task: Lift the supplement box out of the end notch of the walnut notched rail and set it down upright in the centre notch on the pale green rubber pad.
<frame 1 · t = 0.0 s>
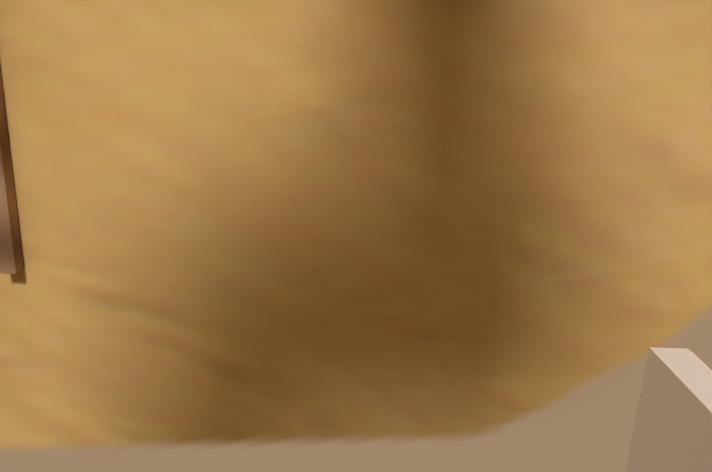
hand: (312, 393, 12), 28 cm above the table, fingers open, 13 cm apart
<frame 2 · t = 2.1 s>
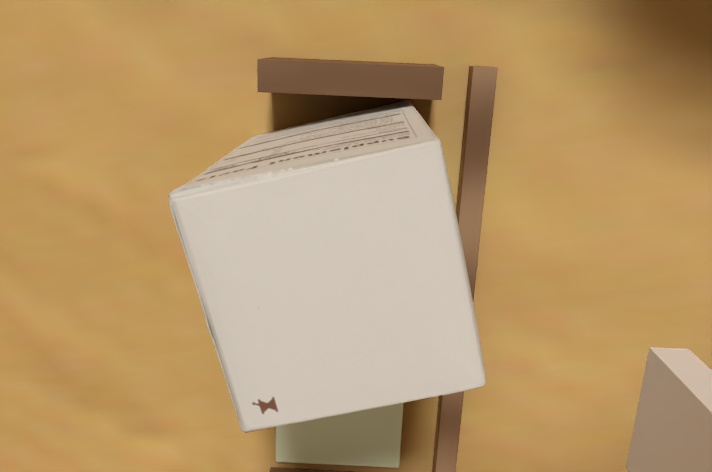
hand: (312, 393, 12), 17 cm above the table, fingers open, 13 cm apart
supplement box: (348, 191, 29), on the table
notch rail: (340, 393, 32), on the table
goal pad: (340, 393, 32), on the table
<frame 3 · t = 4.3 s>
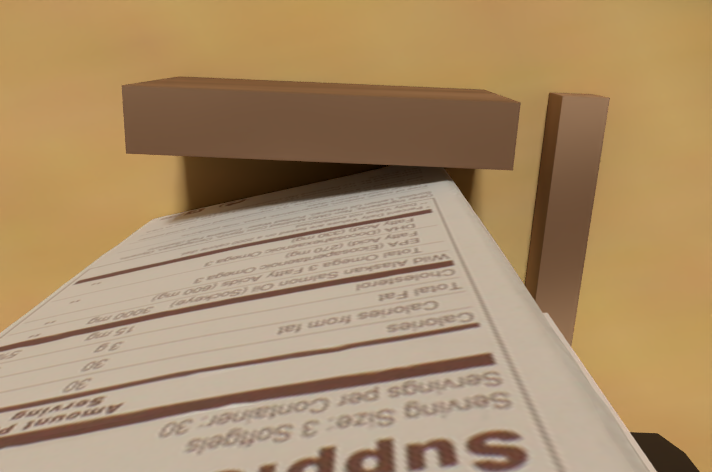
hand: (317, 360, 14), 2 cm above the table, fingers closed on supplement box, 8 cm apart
supplement box: (325, 312, 16), on the table, touching gripper
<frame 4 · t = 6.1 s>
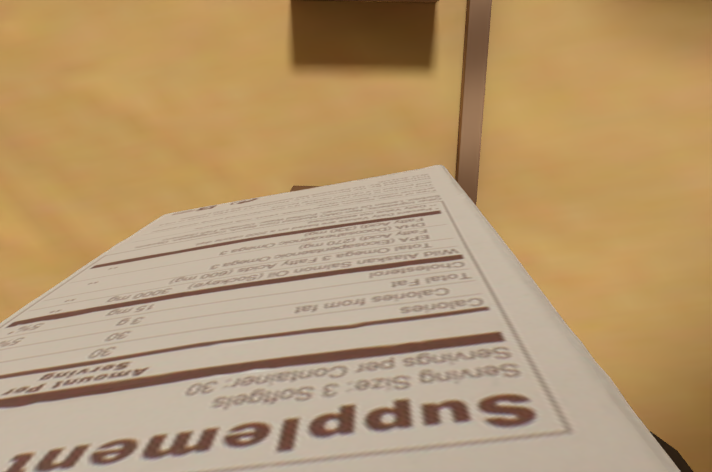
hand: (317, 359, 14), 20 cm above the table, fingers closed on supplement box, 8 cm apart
supplement box: (328, 314, 16), point 17 cm above the table, touching gripper
notch rail: (357, 289, 35), on the table
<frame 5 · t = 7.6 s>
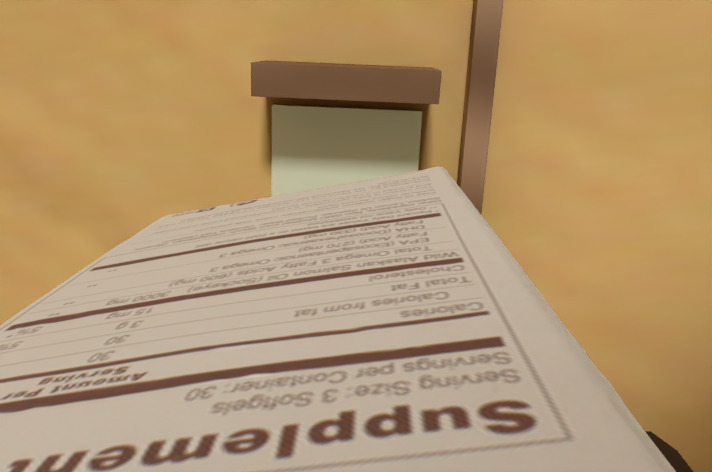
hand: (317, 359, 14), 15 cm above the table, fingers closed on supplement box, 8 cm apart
supplement box: (328, 316, 16), point 12 cm above the table, touching gripper
notch rail: (343, 198, 28), on the table
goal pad: (343, 198, 28), on the table
when the fingers open (4 cm above the table, at t = 10.3 s): supplement box stays where it is, resting on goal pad.
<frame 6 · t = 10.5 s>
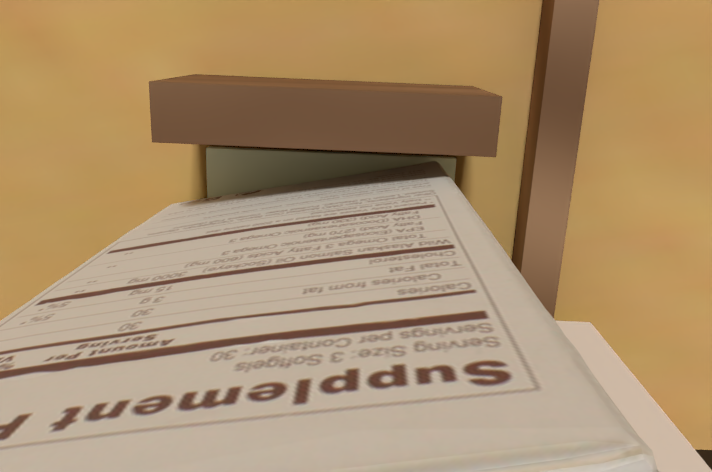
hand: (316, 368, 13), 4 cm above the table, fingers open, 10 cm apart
supplement box: (326, 301, 17), resting on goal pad
notch rail: (327, 294, 17), on the table
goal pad: (327, 294, 17), on the table
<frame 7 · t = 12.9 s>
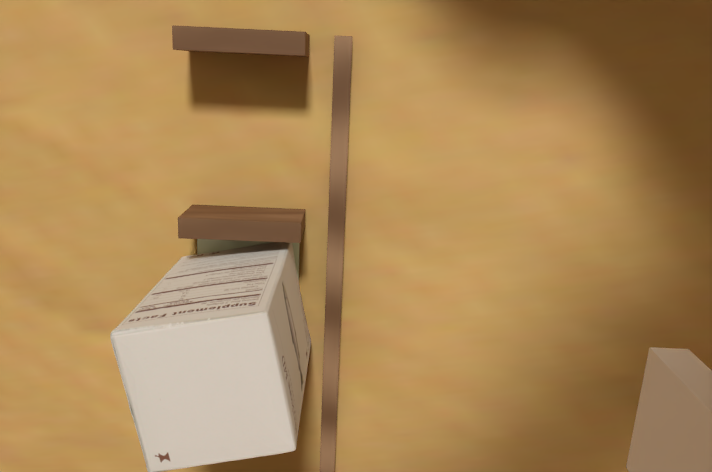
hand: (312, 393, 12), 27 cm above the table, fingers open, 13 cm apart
supplement box: (248, 297, 40), resting on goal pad
notch rail: (249, 294, 41), on the table
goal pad: (249, 294, 41), on the table
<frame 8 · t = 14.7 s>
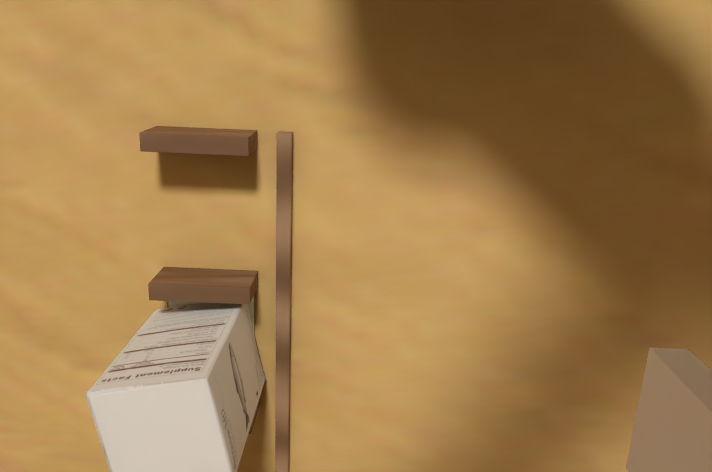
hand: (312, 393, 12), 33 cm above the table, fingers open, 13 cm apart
supplement box: (212, 342, 48), resting on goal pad
notch rail: (212, 339, 48), on the table
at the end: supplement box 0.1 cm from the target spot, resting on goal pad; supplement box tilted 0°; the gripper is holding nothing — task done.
